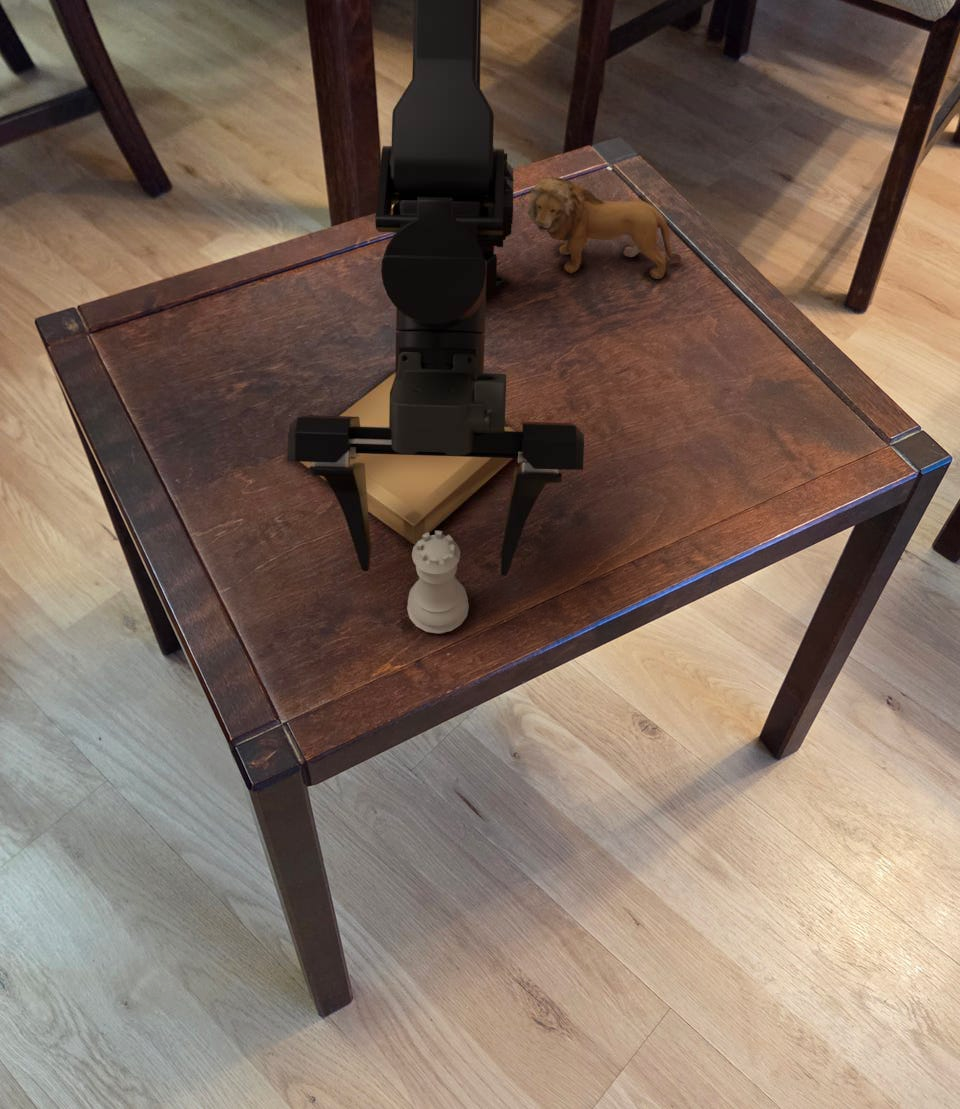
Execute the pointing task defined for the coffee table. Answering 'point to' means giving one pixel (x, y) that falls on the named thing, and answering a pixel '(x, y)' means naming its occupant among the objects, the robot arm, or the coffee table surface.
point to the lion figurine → (597, 222)
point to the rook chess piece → (437, 585)
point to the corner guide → (415, 476)
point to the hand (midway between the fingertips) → (434, 572)
